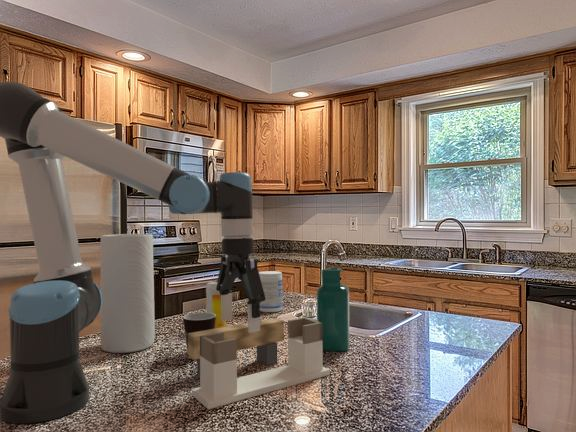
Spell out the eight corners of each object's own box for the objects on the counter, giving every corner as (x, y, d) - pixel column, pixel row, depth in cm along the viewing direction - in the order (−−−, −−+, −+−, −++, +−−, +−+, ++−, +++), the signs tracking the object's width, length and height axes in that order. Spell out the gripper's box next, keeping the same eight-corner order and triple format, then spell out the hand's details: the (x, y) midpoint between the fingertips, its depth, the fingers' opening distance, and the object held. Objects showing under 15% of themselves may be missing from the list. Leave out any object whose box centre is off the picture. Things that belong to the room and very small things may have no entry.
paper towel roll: (95, 356, 113) (94, 236, 113) (106, 341, 127) (105, 234, 127) (152, 352, 116) (150, 235, 116) (157, 337, 130) (156, 233, 130)
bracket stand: (208, 409, 81) (207, 346, 81) (192, 395, 88) (191, 336, 88) (329, 374, 98) (329, 322, 98) (308, 364, 105) (308, 315, 105)
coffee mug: (209, 360, 109) (208, 320, 109) (177, 358, 111) (177, 319, 111) (224, 346, 121) (224, 310, 121) (196, 344, 122) (195, 309, 122)
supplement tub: (284, 312, 162) (284, 273, 162) (260, 313, 160) (259, 274, 160) (280, 307, 172) (279, 270, 172) (256, 308, 170) (256, 271, 170)
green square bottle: (320, 341, 124) (319, 265, 124) (349, 343, 123) (349, 266, 123) (315, 352, 115) (315, 269, 115) (347, 354, 113) (346, 270, 113)
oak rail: (194, 359, 95) (193, 336, 95) (187, 355, 98) (187, 333, 98) (284, 340, 108) (283, 320, 108) (276, 337, 111) (276, 318, 111)
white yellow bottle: (229, 328, 140) (229, 282, 140) (216, 332, 135) (216, 285, 135) (215, 326, 143) (215, 281, 143) (202, 330, 138) (202, 283, 138)
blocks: (206, 380, 95) (205, 358, 95) (197, 373, 100) (197, 352, 100) (277, 363, 106) (277, 343, 106) (266, 357, 110) (266, 338, 110)
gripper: (279, 238, 95) (281, 333, 95) (228, 235, 115) (230, 314, 115) (249, 239, 91) (252, 340, 91) (201, 236, 111) (204, 318, 111)
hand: (239, 325), depth 103 cm, fingers open, 13 cm apart
